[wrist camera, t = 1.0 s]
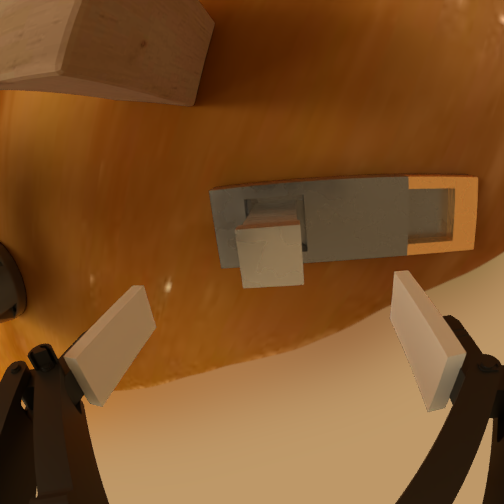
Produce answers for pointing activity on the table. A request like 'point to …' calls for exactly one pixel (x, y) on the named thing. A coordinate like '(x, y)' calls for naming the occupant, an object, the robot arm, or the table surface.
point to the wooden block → (105, 48)
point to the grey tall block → (270, 246)
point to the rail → (359, 214)
